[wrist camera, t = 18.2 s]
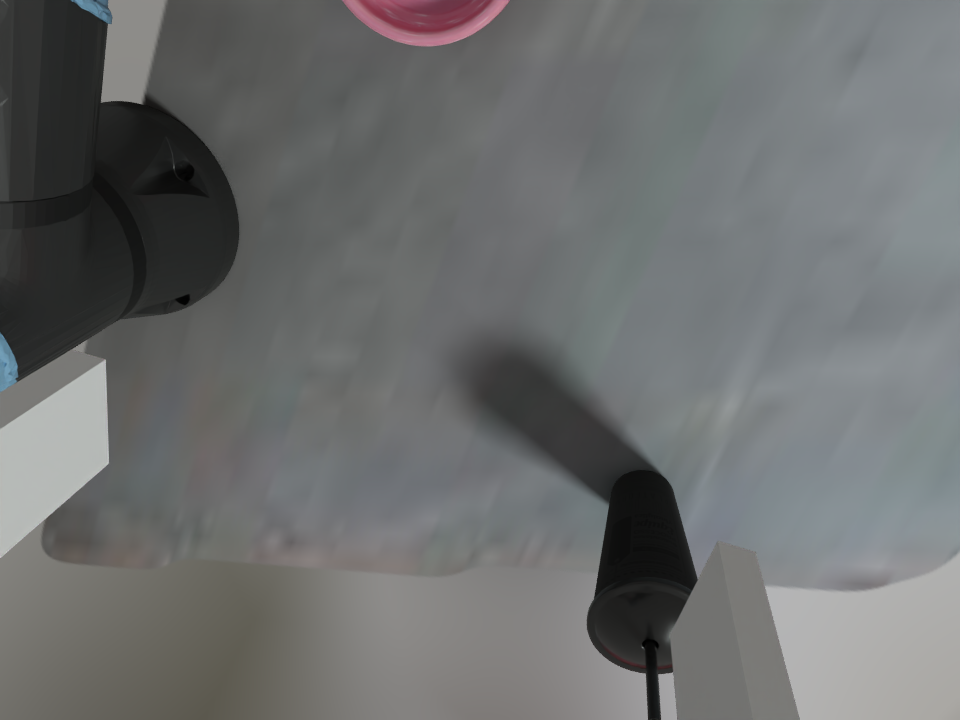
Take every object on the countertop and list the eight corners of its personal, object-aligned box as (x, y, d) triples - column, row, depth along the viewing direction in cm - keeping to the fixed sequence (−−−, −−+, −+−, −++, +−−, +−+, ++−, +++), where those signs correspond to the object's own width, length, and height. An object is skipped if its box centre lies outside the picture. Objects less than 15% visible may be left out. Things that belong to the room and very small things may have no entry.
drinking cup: (585, 524, 57) (572, 751, 39) (602, 447, 53) (595, 657, 36) (680, 542, 56) (710, 783, 38) (703, 465, 53) (747, 690, 35)
